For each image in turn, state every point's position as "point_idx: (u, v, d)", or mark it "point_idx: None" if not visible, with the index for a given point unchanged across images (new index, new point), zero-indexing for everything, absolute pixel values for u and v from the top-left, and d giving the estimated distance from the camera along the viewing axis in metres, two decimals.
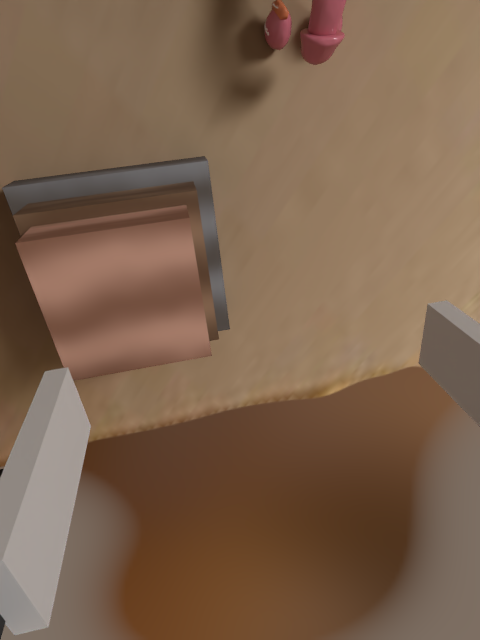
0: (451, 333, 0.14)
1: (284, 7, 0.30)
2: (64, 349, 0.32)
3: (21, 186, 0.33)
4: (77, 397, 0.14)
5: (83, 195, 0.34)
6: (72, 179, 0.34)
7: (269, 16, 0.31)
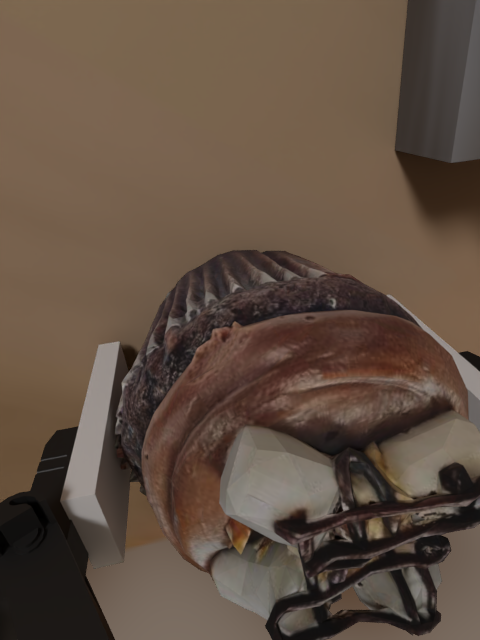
0: None
1: None
2: None
3: (464, 99, 0.10)
4: (127, 370, 0.15)
5: None
6: None
7: None
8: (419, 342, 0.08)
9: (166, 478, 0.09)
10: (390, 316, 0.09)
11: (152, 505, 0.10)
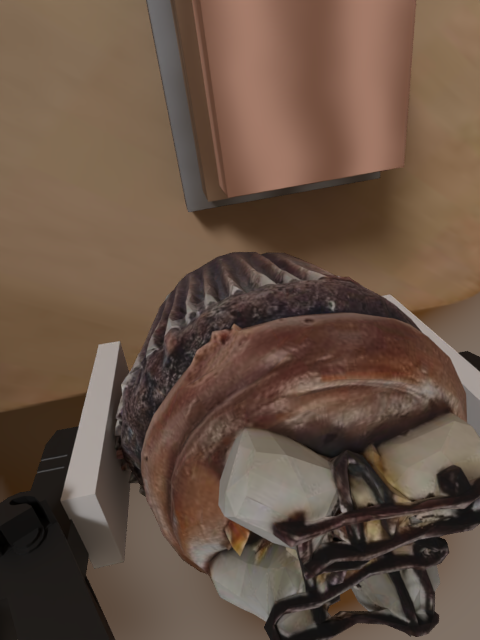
0: None
1: None
2: (360, 165, 0.26)
3: (185, 193, 0.33)
4: (127, 370, 0.15)
5: (191, 129, 0.31)
6: (175, 139, 0.31)
7: None
8: (418, 345, 0.09)
9: (165, 480, 0.09)
10: (389, 319, 0.09)
11: (152, 506, 0.10)
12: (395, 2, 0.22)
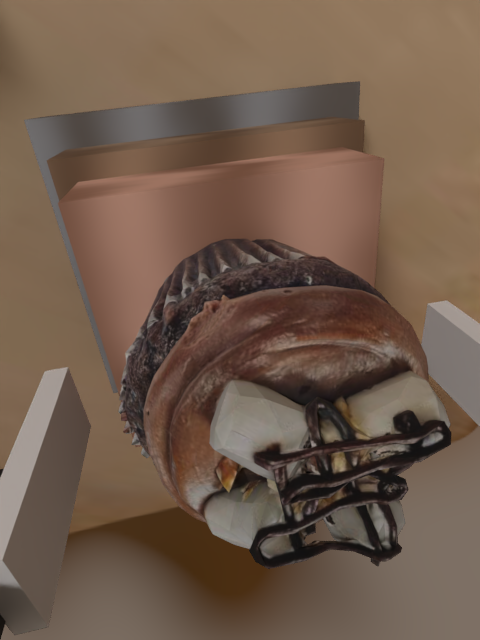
0: (451, 332, 0.14)
1: None
2: None
3: (109, 375, 0.27)
4: (77, 397, 0.14)
5: None
6: (92, 323, 0.25)
7: None
8: (381, 312, 0.10)
9: (165, 430, 0.10)
10: (357, 290, 0.10)
11: (153, 457, 0.11)
12: (350, 242, 0.17)
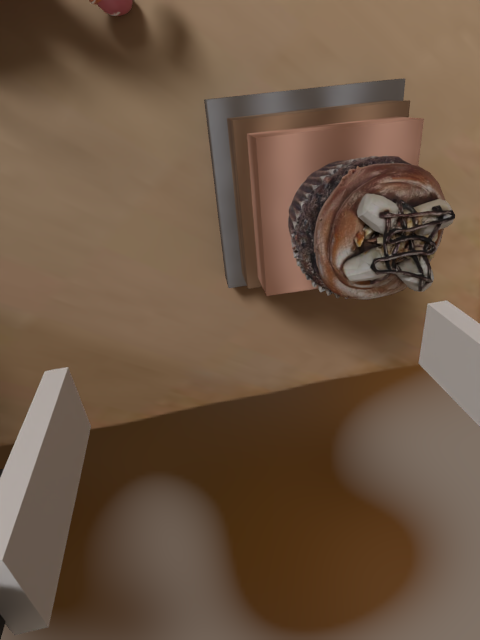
0: (451, 332, 0.14)
1: None
2: None
3: (228, 274, 0.41)
4: (77, 397, 0.14)
5: (236, 228, 0.38)
6: (223, 234, 0.39)
7: (103, 9, 0.30)
8: (426, 173, 0.23)
9: (330, 225, 0.23)
10: (415, 165, 0.23)
11: (318, 245, 0.24)
12: None
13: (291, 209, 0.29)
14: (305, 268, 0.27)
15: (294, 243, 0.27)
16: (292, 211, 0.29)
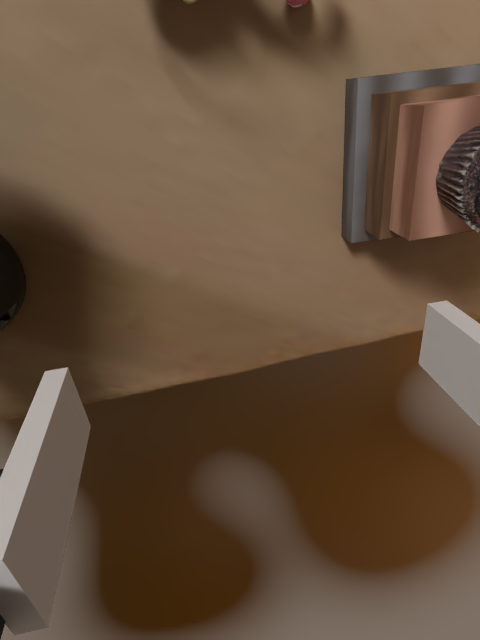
0: (451, 333, 0.14)
1: None
2: None
3: (352, 231, 0.47)
4: (77, 397, 0.14)
5: (365, 189, 0.45)
6: (353, 195, 0.45)
7: (290, 1, 0.37)
8: None
9: None
10: None
11: None
12: None
13: (445, 164, 0.36)
14: (467, 208, 0.34)
15: (459, 188, 0.34)
16: (448, 165, 0.36)
